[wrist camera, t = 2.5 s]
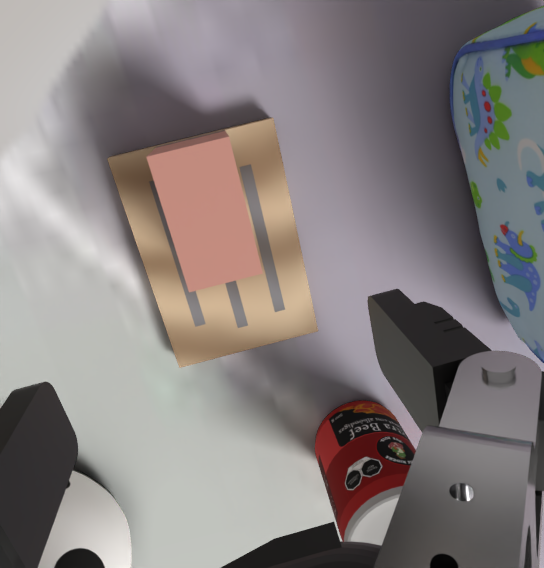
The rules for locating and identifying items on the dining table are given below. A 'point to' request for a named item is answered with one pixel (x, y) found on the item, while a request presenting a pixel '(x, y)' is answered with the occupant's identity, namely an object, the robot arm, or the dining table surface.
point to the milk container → (88, 529)
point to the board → (237, 294)
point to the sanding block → (205, 210)
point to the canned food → (363, 468)
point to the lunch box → (507, 160)
